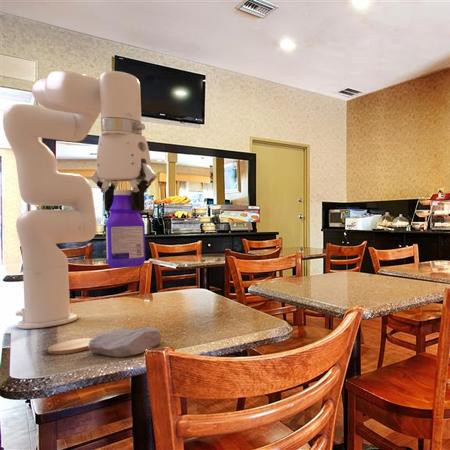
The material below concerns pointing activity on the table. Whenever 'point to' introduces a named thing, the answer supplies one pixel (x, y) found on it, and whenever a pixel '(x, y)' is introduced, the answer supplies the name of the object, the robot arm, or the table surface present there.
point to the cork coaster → (70, 346)
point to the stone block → (125, 341)
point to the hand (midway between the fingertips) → (124, 209)
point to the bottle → (124, 233)
